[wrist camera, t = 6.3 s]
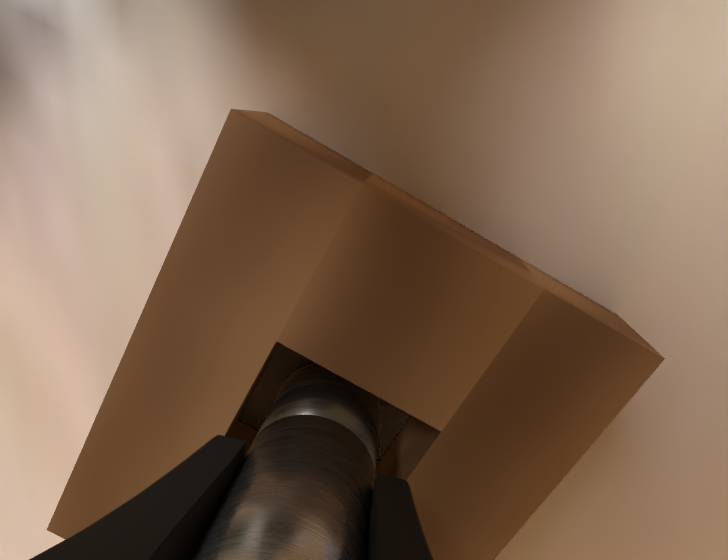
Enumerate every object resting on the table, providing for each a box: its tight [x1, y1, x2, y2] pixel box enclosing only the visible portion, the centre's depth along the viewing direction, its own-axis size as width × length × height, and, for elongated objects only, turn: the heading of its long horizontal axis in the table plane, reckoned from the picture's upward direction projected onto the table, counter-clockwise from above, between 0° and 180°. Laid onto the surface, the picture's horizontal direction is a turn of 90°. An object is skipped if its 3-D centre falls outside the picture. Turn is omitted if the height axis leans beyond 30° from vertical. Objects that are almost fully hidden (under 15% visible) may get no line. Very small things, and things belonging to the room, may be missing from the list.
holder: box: [47, 109, 665, 560], centre depth 13 cm, size 10×12×2 cm
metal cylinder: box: [192, 363, 382, 560], centre depth 10 cm, size 3×3×8 cm
